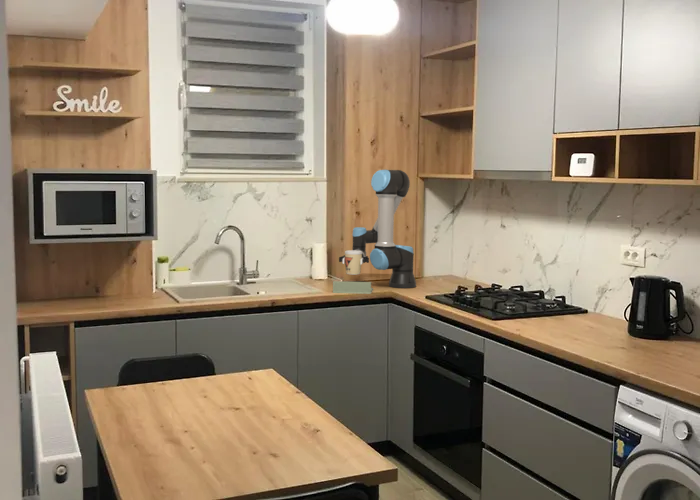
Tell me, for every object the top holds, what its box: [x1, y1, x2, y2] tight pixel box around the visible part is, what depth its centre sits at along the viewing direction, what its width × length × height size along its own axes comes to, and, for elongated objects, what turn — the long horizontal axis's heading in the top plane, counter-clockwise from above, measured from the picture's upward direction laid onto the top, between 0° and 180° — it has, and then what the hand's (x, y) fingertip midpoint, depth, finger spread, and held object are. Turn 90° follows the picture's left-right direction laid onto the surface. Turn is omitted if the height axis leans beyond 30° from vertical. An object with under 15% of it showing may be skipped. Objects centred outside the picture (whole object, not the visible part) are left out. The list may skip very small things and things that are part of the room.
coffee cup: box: [344, 249, 362, 276], centre depth 400 cm, size 9×9×12 cm
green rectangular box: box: [332, 280, 374, 295], centre depth 401 cm, size 20×14×6 cm
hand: (352, 261), depth 395 cm, fingers closed on coffee cup, 9 cm apart
